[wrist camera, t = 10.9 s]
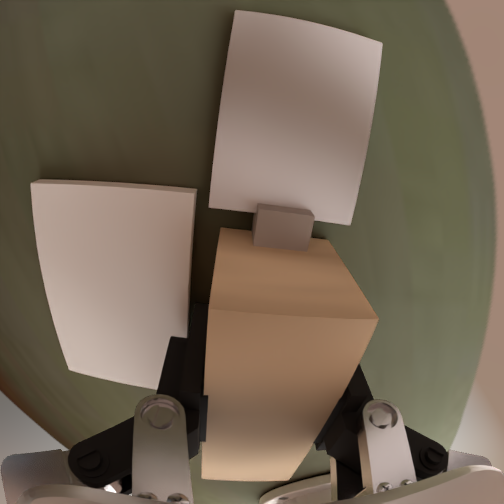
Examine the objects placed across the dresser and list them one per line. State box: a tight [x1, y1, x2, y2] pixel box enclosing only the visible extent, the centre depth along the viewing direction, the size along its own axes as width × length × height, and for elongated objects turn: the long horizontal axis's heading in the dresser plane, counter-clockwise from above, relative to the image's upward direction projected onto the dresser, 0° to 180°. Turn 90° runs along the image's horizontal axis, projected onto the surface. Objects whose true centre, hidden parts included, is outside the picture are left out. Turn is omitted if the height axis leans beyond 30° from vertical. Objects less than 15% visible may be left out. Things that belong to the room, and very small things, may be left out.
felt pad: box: [31, 179, 197, 390], centre depth 10 cm, size 9×6×1 cm, turn 172°
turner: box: [202, 10, 383, 481], centre depth 8 cm, size 16×4×4 cm, turn 172°
